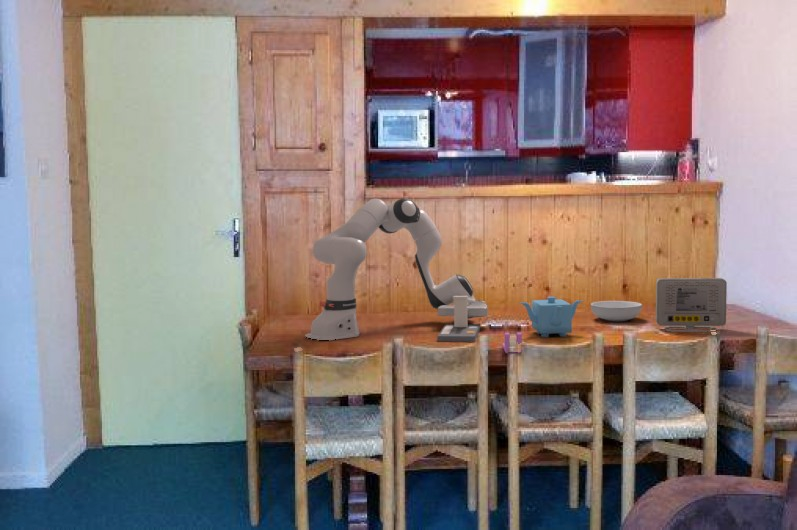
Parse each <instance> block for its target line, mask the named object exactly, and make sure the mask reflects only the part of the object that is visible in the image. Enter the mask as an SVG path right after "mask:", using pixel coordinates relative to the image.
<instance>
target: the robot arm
mask: <svg viewBox="0 0 797 530" xmlns="http://www.w3.org/2000/svg"><path fill="white" fill-rule="evenodd" d="M378 229H379V230H381V232H384V233H385V234H394V233H397V232H398V231H400V230H402V229H405V230H407V231H408V232H409V234H410V235H411V239H413V241H414V243H415V246H416V253H415V255H414V256H415V257H414V258H415V263H416V265H417V266H416V267H417V269H418V272H419V275H420V277H421V280H422V284H423V286H424V289H425V292H426V295H427V299H428V302H429V304H430V306H431V307H432V308H433V309H436V310H437V316H439V317H454V300H453V296H468V299H467V320H469V319H474V318H483V317H488V305H487V304H486V302H485V300H480V299H479V300H478V299H476V298H475V296H474V289H473V286H472V285H471V282H469V279H467V277H465V276H463V275H461V274H457V273H456V274H455V275H453V276H451V277H448V278H447V279H446V280H444V281H442V282H441V283H438V284H435V283H434V279H433V276H432V274H431V271H430V268H429V265H430V262H431V261H432V260H433V258H434V256H435V255H436V254H437V253H438V252H439V251H440V249H441V246H442V242H443V237H442V235H441V233H440V231H439V229H438V228H437V226H436V224H435V223H434V221H433V220H432V218H431V217H430V216H429V214H427V212H426V211H425V210H423V209H420V208H419V207H418V206H417V204H416V202H415V201H413V200H411V199H410V198H407V197H404V198H400V199H398V200H396V201H395V202H393V203H391V204H389V205H387V204H386V203H385V201H383V200H382V199H380V198H372V199H369V200H368V201H366V203H364V204H363V205H362V206H361V207H359V209H358V210H357V211H356V212H355V213H354V214H353V215H352V216H351V217H350V218H349V219H348V220H347V221H346V222H345V223H344V224H342V225H341V226H339V227H338V228H336V229H335V230H333V231H332V232H330V233H328V234H327V235H325V236H323V237H320V238H318V239H316V241H314V244H313V246H312V254H313V257H314V258H315V259H316V260H317V261H319V262H322V263H324V264H327V265H328V264H329V265H334V269H333V273H332V274H331V275H330V276H329V277H328V278H327V280H326V298H327V299H326V301H322V300H321V301H319V307H323V310H322V311H321V312H320V313H319V314H318V315H317V316H316V318H314V319H313V320H312V322H311V326H310V333H306V334H305V335H304V337H305V336H306V337H308V338H311V339H310V340H312V339H317V340H316V341H319V340H329V341H335V339H336V340H343V339H349V338H355V337H359V336H360V334H361V331H360V328H359V323H358V319H357V312H356V309H357V298H356V296H355V295H356V291H355V289H356V287H355V286H356V284H355V283H356V275H357V273H358V269H359V267H360V266H361V264H362V263H363V262H365V260H366V258H367V254H368V247H367V245H366V242H368V240H369V239H370V238H371V237H372V236H373V234H374V233H375V232H377V230H378ZM452 303H453V304H452ZM306 337H305V338H306ZM308 338H307V339H308Z"/></svg>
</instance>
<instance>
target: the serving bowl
mask: <svg viewBox="0 0 797 530" xmlns="http://www.w3.org/2000/svg"><path fill="white" fill-rule="evenodd" d="M590 308H591V312H592V313H593V315H594V316H596V317H597V318H600V319H602V320H605V321H608V322H617V323H618V322H627V321H628V320H633V319H635V318H636V317H638V316H639V314H641V311H642V309H643V304H642V303H640V302H636V301H628V300H627V301H626V300H604V301H603V300H602V301H594V302H591V303H590Z"/></svg>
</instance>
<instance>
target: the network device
mask: <svg viewBox="0 0 797 530" xmlns="http://www.w3.org/2000/svg"><path fill="white" fill-rule="evenodd" d="M727 284H728V282H727V281H726V279H725V278H722V277H668V278H667V277H663V278H662V277H660V278H659V277H658V278H657V279H656V281H655V322H656V323H657V324H658V326H660V327H661V326H662V327H664V331H666V332H671V333H672V332H673V333H674V332H677V333H678V332H680V333H682V332H683V333H687V332H689V333H690V332H691V333H700V332H701V333H708V332H707V331H710V330H717V331H718V329H717V328H716V327H723V326H725V325H726V323H727V294H728V293H727V287H728V286H727Z"/></svg>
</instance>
